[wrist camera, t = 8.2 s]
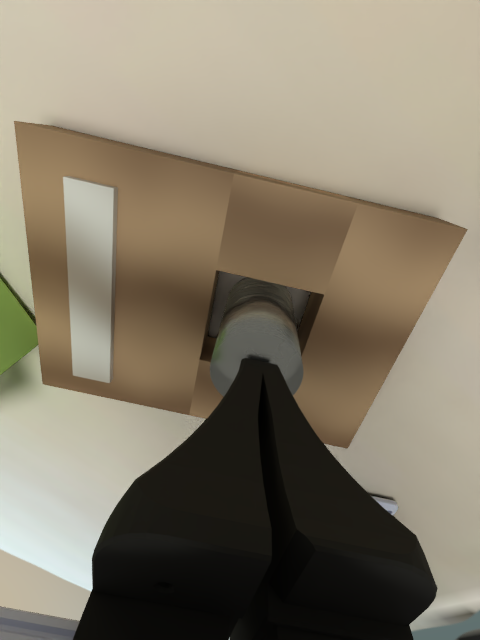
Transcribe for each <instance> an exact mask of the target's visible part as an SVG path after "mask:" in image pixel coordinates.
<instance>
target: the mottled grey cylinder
mask: <svg viewBox="0 0 480 640" xmlns="http://www.w3.org/2000/svg"><path fill="white" fill-rule="evenodd" d="M244 358H249V359H253V360H258V361H262V362H267V363H272V364H276V365H278V367H279V368H280V370H281V373H282V375H283V377H284V379H285V381H286V383H287V385H288V387H289V389H290V391H291V393H292V395H294V394H295V393H296V391H297V390H298V389H299V387H300V385H301V383H302V379H303V363H302V357H301V352H300V346H299V340H298V334H297V328H296V322H295V316H294V310H293V305H292V299H291V296H290V293H289V292H288V290H287V289H286V287H285V286H284V285H280V284H275V283H271V282H267V281H262V280H258V279H253V278H249V277H247V278H245V279H243V280H241V281H240V282H238V283H237V284H236V285H235V286H234V287H233V288H232V290H231V291H230V293H229V295H228V299H227V302H226V306H225V310H224V314H223V317H222V321H221V325H220V329H219V332H218V336H217V340H216V344H215V348H214V351H213V355H212V359H211V363H210V376H211V380H212V382H213V384H214V386H215V388H216V389H217V390H218V392H219V393H220V394H221V395H222V396H223V397H224V396H225V394H226V393H227V391H228V390H229V388H230V386H231V385H232V383H233V381H234V379H235V377H236V375H237V373H238V371H239V367H240V363H241V360H242V359H244Z"/></svg>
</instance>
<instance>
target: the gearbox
mask: <svg viewBox="0 0 480 640" xmlns="http://www.w3.org/2000/svg"><path fill="white" fill-rule="evenodd" d="M37 345H38V336H37V326H36V325H35V324H34V322H33V321H32V320H31V318H30V317H29V315H28V314H27V313H26V311H25V310H24V309H23V307H22V306H21V305H20V303H19V302H18V301H17V299H16V298H15V297H14V295H13V294H12V293H11V292H10V290H9V289H8V288H7V286H6V285H5V284H4V282H3V281H2V280H1V278H0V375H1V374H2V373H3V372H5V371H6V370H7V369H8V368H10V367H11V366H12V365H13V364H15V363H16V362H17V361H18V360H20V359H21V358H22V357H23V356H25V355H26V354H27V353H28V352H30V351H31V350H32V349H33V348H35V347H36V346H37Z"/></svg>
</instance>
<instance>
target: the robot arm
mask: <svg viewBox="0 0 480 640" xmlns="http://www.w3.org/2000/svg"><path fill="white" fill-rule="evenodd" d="M397 510H398V506H397V503H396V502H395V501H393V500H389V499H384V498H379V497H374V496H370V495H369V494H368V493H367V492H366V491H365V490H364V489H363V488H362V487H361V486H360V485H359V484H358V483H357V482H356V481H355V480H354V479H353V478H352V477H351V475H350V474H349V473H348V472H347V471H346V470H345V469H344V468H343V467H342V465H341V464H340V463H339V462H338V461H337V460H336V459H335V457H334V456H333V455H332V454H331V453H330V451H329V450H328V449H327V448H326V446H325V445H324V444H323V442H322V441H321V440H320V438H319V437H318V436H317V434H316V433H315V432H314V430H313V429H312V427H311V426H310V424H309V422H308V421H307V419H306V418H305V416H304V414H303V413H302V411H301V409H300V408H299V406H298V404H297V402H296V401H295V399H294V397H293V395H292V393H291V391H290V389H289V387H288V385H287V383H286V381H285V379H284V377H283V375H282V373H281V370H280V368H279V367H278V365H276V364H272V363H267V362H262V361H258V360H253V359H249V358H244V359H242V360H241V363H240V367H239V371H238V373H237V375H236V377H235V379H234V381H233V383H232V385H231V386H230V388H229V390H228V391H227V393H226V394H225V396H224V397H223V399H222V400H221V401H220V403H219V404H218V406H217V407H216V408H215V409H214V411H213V412H212V413H211V414H210V416H209V417H208V418H207V419H206V420H205V421H204V422H203V423H202V425H201V426H200V427H199V428H198V429H197V430H196V431H195V432H194V433H193V434H192V435H191V436H190V437H189V438H188V439H187V440H186V441H184V442H183V443H182V444H181V445H180V446H179V447H177V448H176V449H175V450H174V451H173V452H172V453H170V454H169V455H168V456H167V457H166V458H164V459H163V460H162V461H161V462H159V463H158V464H157V465H155V466H154V467H152V468H151V469H150V470H148V471H147V472H145V473H144V474H143V475H141V476H140V477H138V478H137V479H136V480H135V481H134V482H133V484H132V485H131V486H130V488H129V489H128V490H127V492H126V493H125V494H124V496H123V497H122V498H121V500H120V501H119V503H118V504H117V506H116V507H115V509H114V510H113V512H112V514H111V515H110V517H109V519H108V521H107V522H106V524H105V526H104V529H103V531H102V533H101V536H100V538H99V540H98V543H97V545H96V547H95V550H94V553H93V557H92V577H93V589H92V592H91V594H90V597H89V599H88V602H87V604H86V607H85V610H84V612H83V614H82V617H81V620H80V621H77V620H70V619H66V618H60V617H55V616H49V615H44V614H39V613H33V612H27V611H22V610H16V609H11V608H6V607H1V606H0V640H229V638H230V640H413V636H412V633H411V630H410V626H409V624H410V623H411V622H413V621H414V620H415V619H416V618H417V617H418V616H419V615H420V614H422V613H423V612H424V611H425V610H426V609H427V608H428V607H429V606H430V605H431V603H432V602H433V601H434V599H435V597H436V592H437V586H436V584H435V581H434V578H433V576H432V573H431V570H430V568H429V565H428V562H427V560H426V557H425V554H424V552H423V550H422V548H421V546H420V543H419V541H418V539H417V537H416V535H415V534H413V533H412V532H411V531H410V530H409V529H408V528H406V527H405V526H404V525H403V524H402V523H401V522H399V521H398V520H397V519H396V518H395V517H394V516H393V515H394V514H395V512H396V511H397Z"/></svg>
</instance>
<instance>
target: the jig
mask: <svg viewBox="0 0 480 640" xmlns="http://www.w3.org/2000/svg"><path fill="white" fill-rule="evenodd" d="M14 124H15V133H16V142H17V151H18V161H19V170H20V179H21V188H22V197H23V207H24V216H25V225H26V234H27V243H28V253H29V262H30V271H31V280H32V289H33V299H34V308H35V317H36V326H37V336H38V345H39V354H40V363H41V372H42V382H43V384H45V385H49V386H54V387H59V388H64V389H68V390H73V391H78V392H83V393H87V394H92V395H97V396H101V397H106V398H111V399H116V400H120V401H125V402H130V403H135V404H139V405H144V406H149V407H154V408H158V409H163V410H168V411H173V412H177V413H182V414H187V415H191V416H196V417H201V418H206V419H207V418H208V417H209V416H210V414H211V413H212V412H213V411H214V409H215V408H216V407H217V406H218V404H219V403H220V401H221V400H222V399H223V396H222V395H221V394H220V393H219V392H218V390H217V389H216V388H215V386H214V384H213V382H212V380H211V376H210V363H211V359H212V355H213V351H214V348H215V344H216V340H217V338H213V337H208V336H207V334H208V329H209V323H210V318H211V313H212V308H213V302H214V297H215V292H216V287H217V281H218V276H219V271H223V272H227V273H231V274H236V275H240V276H245V277H249V278H253V279H258V280H262V281H267V282H271V283H275V284H280V285H284V286H289V287H293V288H297V289H302V290H306V291H310V292H311V295H310V298H309V301H308V304H307V306H306V309H305V312H304V315H303V318H302V321H301V324H300V327H299V329H298V332H297V334H298V340H299V346H300V352H301V357H302V363H303V379H302V383H301V385H300V387H299V389H298V390H297V391H296V393H295V394H294V395H293V397H294V399H295V401H296V402H297V404H298V406H299V408H300V409H301V411H302V413H303V414H304V416H305V418H306V419H307V421H308V422H309V424H310V426H311V427H312V429H313V430H314V432H315V433H316V434H317V436H318V437H319V438H320V440H321V441H322V442H323V443H324V444H329V445H334V446H338V447H343V448H348V447H349V445H350V443H351V441H352V439H353V438H354V436H355V434H356V432H357V430H358V428H359V427H360V425H361V423H362V421H363V419H364V417H365V416H366V414H367V412H368V410H369V408H370V406H371V405H372V403H373V401H374V399H375V397H376V396H377V394H378V392H379V390H380V388H381V386H382V385H383V383H384V381H385V379H386V377H387V375H388V374H389V372H390V370H391V368H392V366H393V364H394V363H395V361H396V359H397V357H398V355H399V354H400V352H401V350H402V348H403V346H404V344H405V343H406V341H407V339H408V337H409V335H410V333H411V332H412V330H413V328H414V326H415V324H416V322H417V321H418V319H419V317H420V315H421V313H422V312H423V310H424V308H425V306H426V304H427V302H428V301H429V299H430V297H431V295H432V293H433V291H434V290H435V288H436V286H437V284H438V282H439V281H440V279H441V277H442V275H443V273H444V271H445V270H446V268H447V266H448V264H449V262H450V260H451V259H452V257H453V255H454V253H455V251H456V249H457V248H458V246H459V244H460V242H461V240H462V239H463V237H464V235H465V233H466V231H467V229H465V228H462V227H460V226H457V225H455V224H452V223H449V222H447V221H444V220H441V219H439V218H435V217H431V216H426V215H422V214H418V213H414V212H410V211H406V210H401V209H397V208H393V207H389V206H385V205H381V204H376V203H372V202H368V201H364V200H360V199H355V198H351V197H347V196H343V195H339V194H335V193H330V192H326V191H322V190H318V189H314V188H310V187H305V186H301V185H297V184H293V183H289V182H284V181H280V180H276V179H272V178H268V177H264V176H259V175H255V174H251V173H247V172H243V171H239V170H234V169H230V168H226V167H222V166H218V165H214V164H209V163H205V162H201V161H197V160H193V159H188V158H184V157H180V156H176V155H172V154H168V153H163V152H159V151H155V150H151V149H147V148H143V147H138V146H134V145H130V144H126V143H122V142H117V141H113V140H109V139H105V138H101V137H97V136H92V135H88V134H84V133H80V132H76V131H72V130H67V129H63V128H59V127H55V126H49V125H42V124H34V123H26V122H18V121H14Z"/></svg>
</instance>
